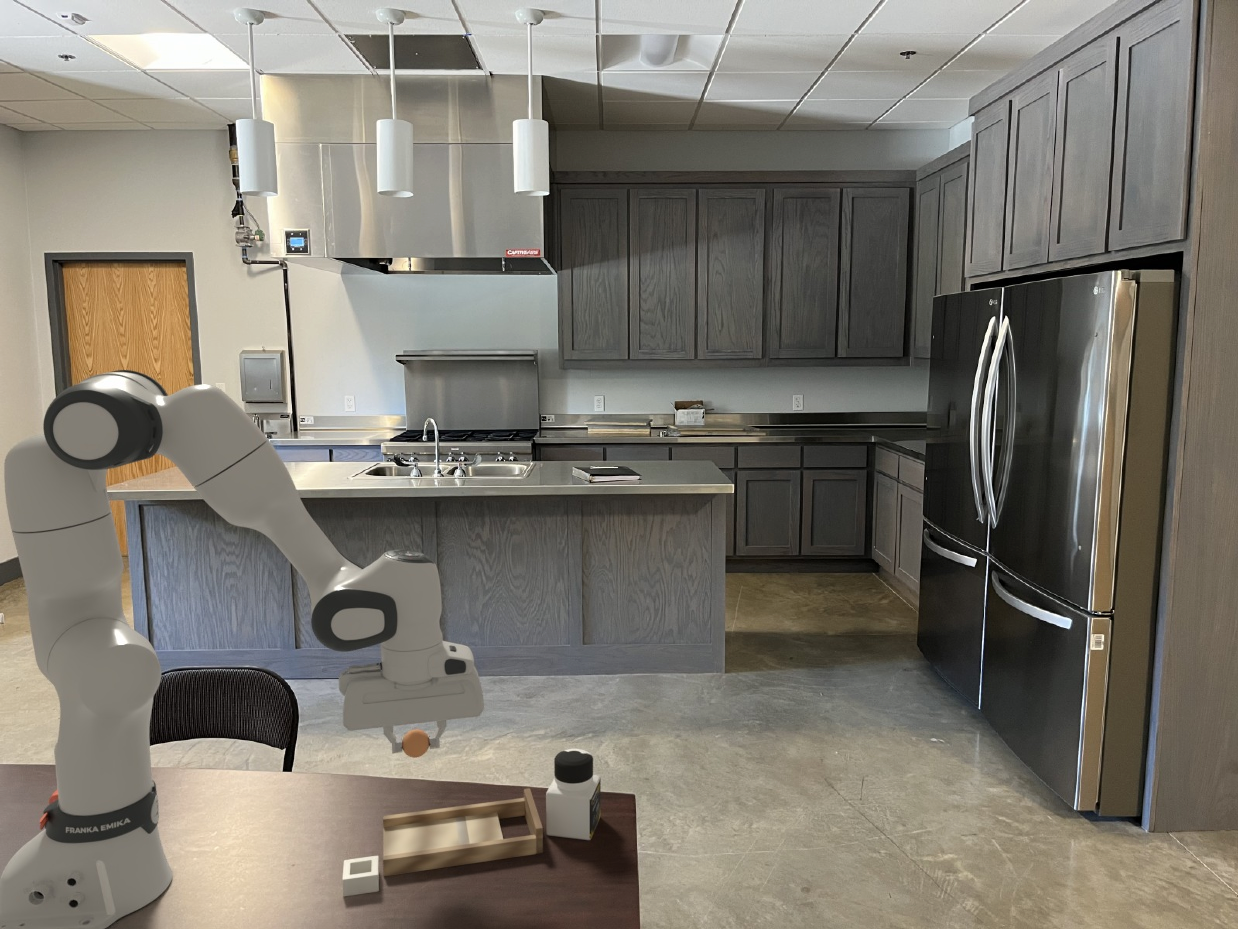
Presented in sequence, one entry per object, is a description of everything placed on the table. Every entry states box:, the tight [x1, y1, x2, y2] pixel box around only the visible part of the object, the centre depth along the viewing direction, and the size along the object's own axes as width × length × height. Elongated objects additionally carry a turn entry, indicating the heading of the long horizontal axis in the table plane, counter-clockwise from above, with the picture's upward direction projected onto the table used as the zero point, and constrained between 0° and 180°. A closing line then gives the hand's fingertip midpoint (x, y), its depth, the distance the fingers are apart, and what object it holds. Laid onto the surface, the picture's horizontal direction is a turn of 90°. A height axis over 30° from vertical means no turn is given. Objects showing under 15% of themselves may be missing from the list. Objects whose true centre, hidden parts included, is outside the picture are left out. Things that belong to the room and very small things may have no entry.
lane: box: [382, 787, 544, 877], centre depth 133 cm, size 23×12×4 cm, turn 105°
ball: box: [402, 728, 430, 758], centre depth 129 cm, size 4×4×4 cm
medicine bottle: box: [545, 748, 602, 841], centre depth 137 cm, size 7×7×12 cm
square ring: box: [342, 855, 380, 898], centre depth 122 cm, size 5×5×2 cm
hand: (416, 749), depth 129 cm, fingers closed on ball, 4 cm apart
